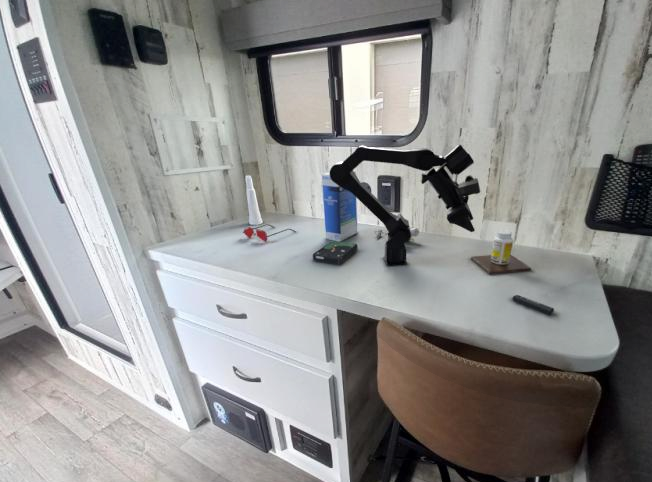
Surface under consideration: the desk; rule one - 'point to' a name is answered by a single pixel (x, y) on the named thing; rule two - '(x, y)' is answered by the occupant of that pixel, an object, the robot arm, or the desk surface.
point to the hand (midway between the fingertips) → (472, 225)
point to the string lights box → (338, 210)
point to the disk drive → (335, 252)
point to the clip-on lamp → (413, 230)
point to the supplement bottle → (502, 247)
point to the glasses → (260, 232)
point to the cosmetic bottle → (252, 203)
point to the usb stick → (533, 304)
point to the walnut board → (494, 268)
